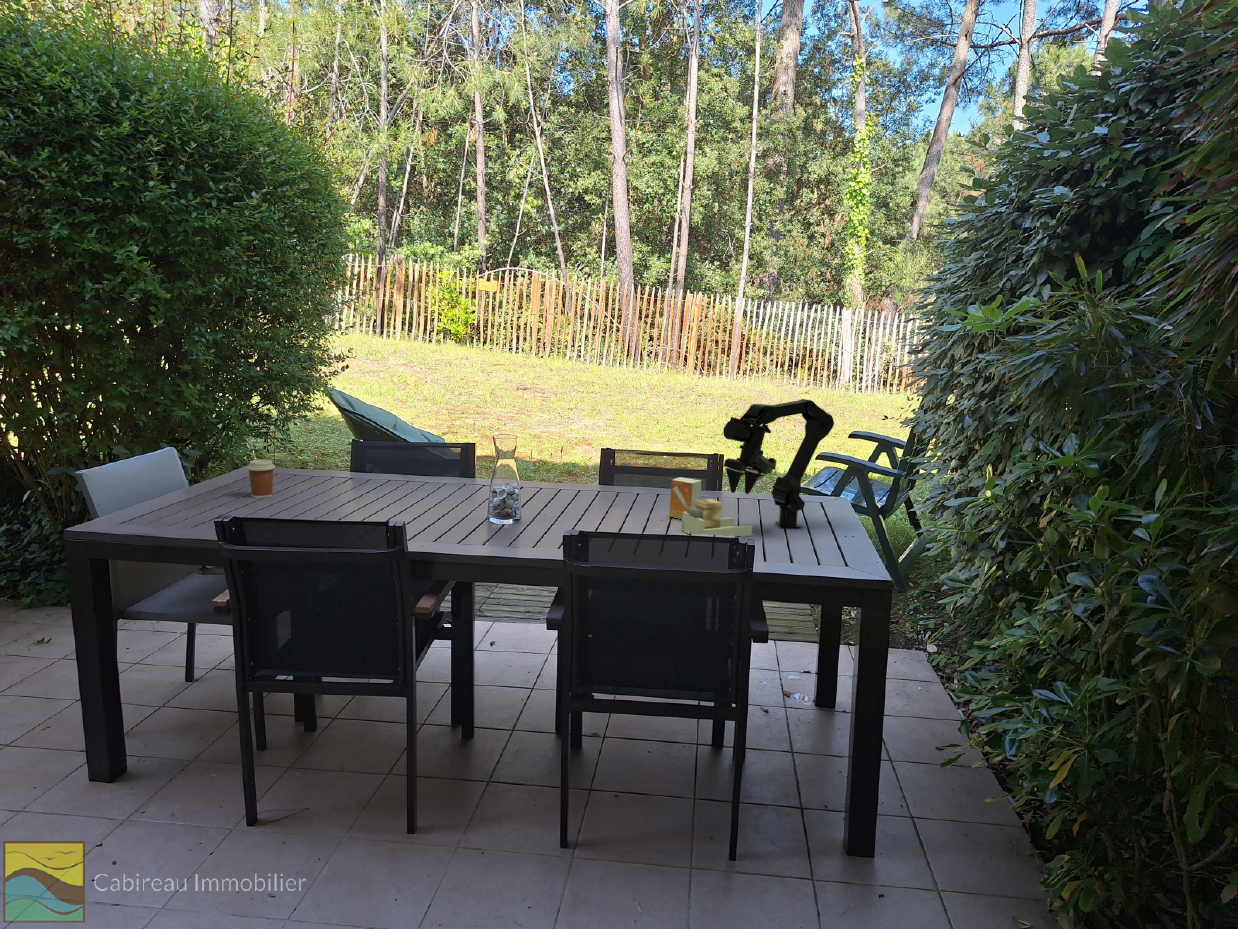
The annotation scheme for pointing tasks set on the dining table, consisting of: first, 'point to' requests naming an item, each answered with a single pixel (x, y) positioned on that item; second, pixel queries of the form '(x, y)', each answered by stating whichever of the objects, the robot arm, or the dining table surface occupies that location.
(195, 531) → the dining table surface
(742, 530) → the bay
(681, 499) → the small box
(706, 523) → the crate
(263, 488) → the coffee cup
